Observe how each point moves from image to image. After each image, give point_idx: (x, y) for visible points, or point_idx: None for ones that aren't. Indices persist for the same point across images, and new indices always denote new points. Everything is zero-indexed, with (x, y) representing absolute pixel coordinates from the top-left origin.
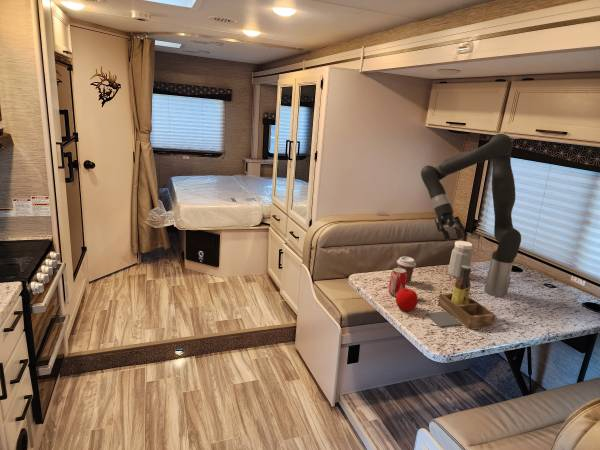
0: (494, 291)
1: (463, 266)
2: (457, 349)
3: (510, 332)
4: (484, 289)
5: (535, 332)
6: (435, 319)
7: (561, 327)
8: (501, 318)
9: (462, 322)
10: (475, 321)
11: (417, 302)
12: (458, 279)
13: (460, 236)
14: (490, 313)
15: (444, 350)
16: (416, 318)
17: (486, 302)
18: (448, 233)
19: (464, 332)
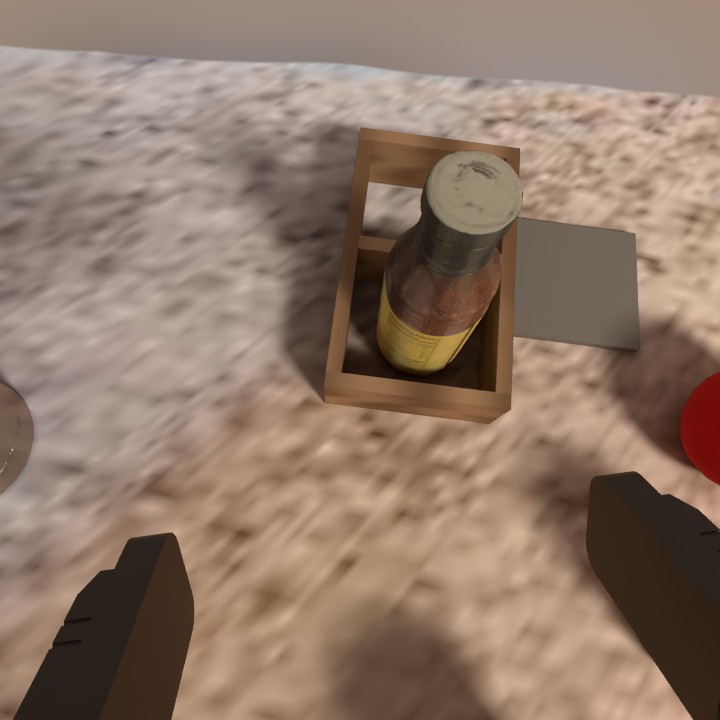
0: (6, 398)
1: (500, 203)
2: (656, 101)
3: (322, 113)
4: (1, 487)
5: (204, 80)
6: (622, 284)
7: (30, 68)
8: (246, 205)
9: None
10: None
11: (704, 383)
12: (496, 266)
13: (167, 577)
14: (370, 151)
15: (713, 112)
16: (705, 334)
17: (157, 357)
18: (683, 557)
19: (540, 174)
